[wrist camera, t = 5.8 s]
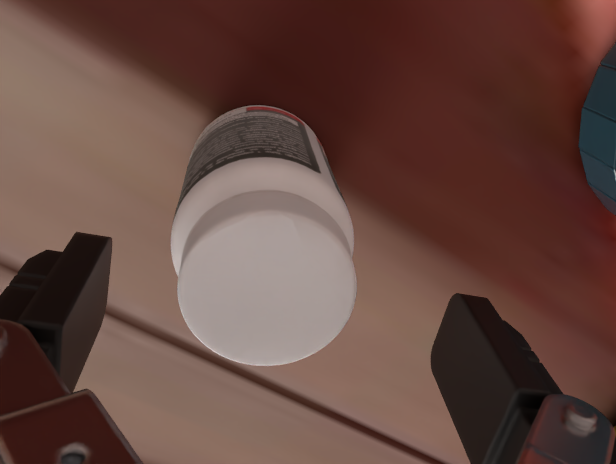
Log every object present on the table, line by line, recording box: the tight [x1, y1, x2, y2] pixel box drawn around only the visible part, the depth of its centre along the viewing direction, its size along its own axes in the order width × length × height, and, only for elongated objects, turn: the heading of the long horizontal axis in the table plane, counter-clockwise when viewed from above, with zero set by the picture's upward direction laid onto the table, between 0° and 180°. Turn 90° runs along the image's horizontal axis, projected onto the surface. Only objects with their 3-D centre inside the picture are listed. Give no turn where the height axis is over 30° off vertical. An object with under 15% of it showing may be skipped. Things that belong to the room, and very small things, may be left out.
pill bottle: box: [171, 105, 357, 366], centre depth 17 cm, size 5×5×8 cm
